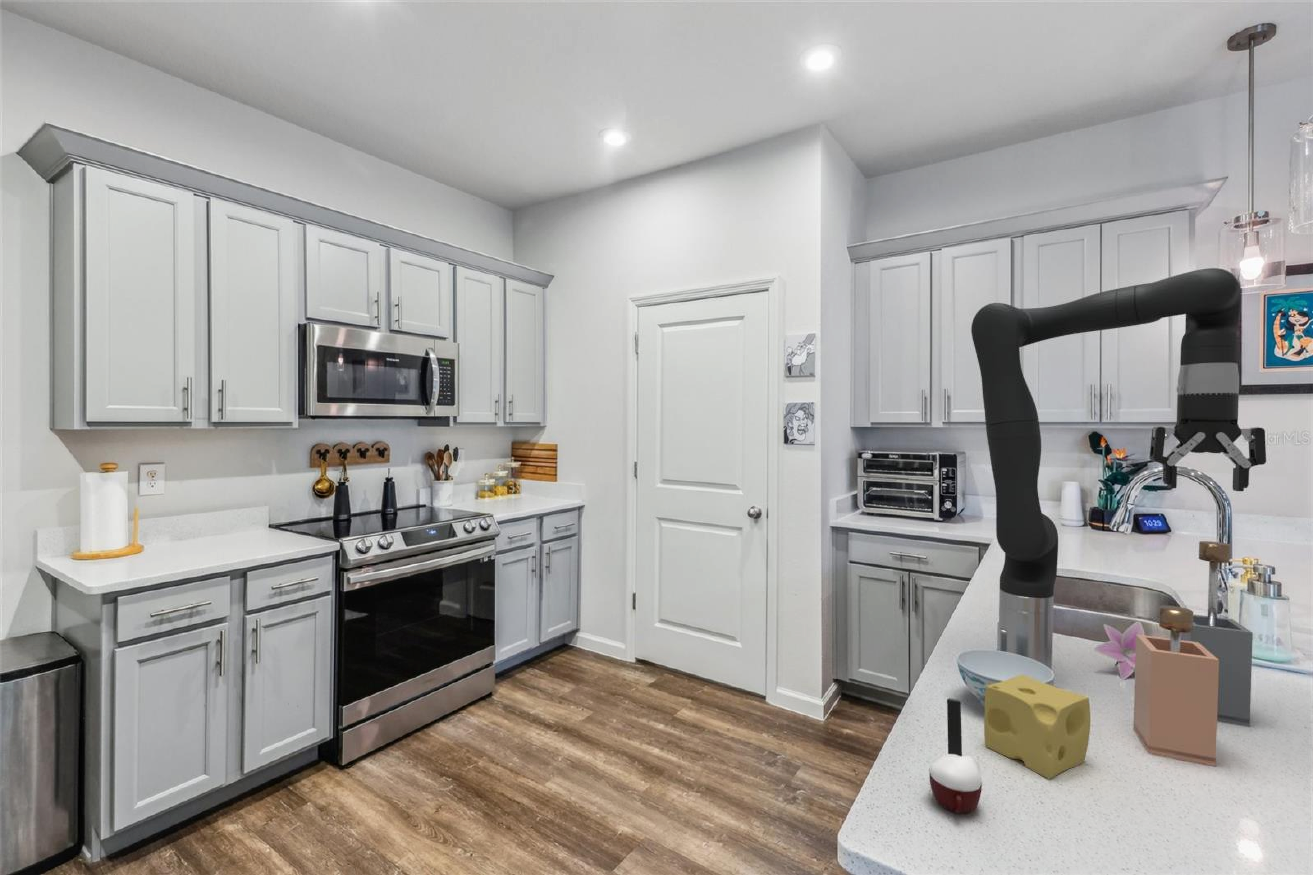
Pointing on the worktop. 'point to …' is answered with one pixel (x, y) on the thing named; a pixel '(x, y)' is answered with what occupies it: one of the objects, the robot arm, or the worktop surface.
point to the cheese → (1037, 724)
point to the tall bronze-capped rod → (1213, 572)
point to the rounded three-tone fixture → (956, 769)
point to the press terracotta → (1176, 699)
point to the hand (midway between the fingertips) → (1204, 489)
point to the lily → (1122, 647)
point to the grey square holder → (1228, 665)
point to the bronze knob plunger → (1176, 623)
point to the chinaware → (997, 669)
